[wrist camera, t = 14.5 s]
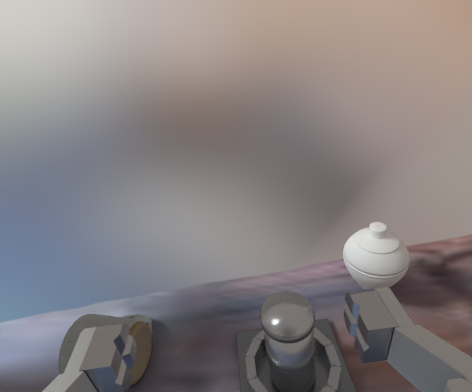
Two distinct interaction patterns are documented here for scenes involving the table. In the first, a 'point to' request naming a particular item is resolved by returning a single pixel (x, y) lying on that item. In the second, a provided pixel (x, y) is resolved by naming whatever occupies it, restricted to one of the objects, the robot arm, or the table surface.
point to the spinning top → (376, 257)
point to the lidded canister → (289, 341)
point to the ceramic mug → (136, 323)
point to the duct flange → (326, 362)
